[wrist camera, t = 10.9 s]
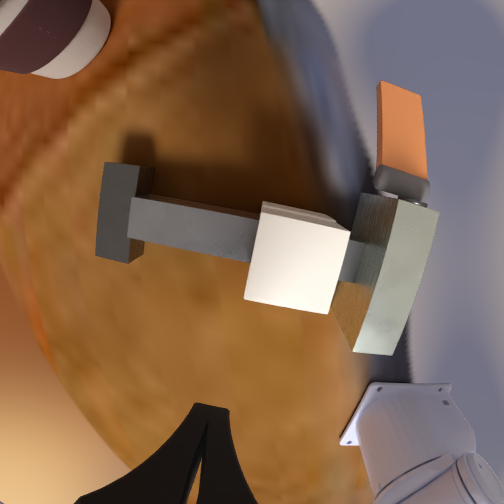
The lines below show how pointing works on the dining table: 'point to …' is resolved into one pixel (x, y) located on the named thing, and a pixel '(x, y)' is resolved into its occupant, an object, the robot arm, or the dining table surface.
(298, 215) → the carriage
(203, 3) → the dining table surface
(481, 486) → the robot arm
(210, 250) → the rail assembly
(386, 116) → the lever
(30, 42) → the coffee cup
